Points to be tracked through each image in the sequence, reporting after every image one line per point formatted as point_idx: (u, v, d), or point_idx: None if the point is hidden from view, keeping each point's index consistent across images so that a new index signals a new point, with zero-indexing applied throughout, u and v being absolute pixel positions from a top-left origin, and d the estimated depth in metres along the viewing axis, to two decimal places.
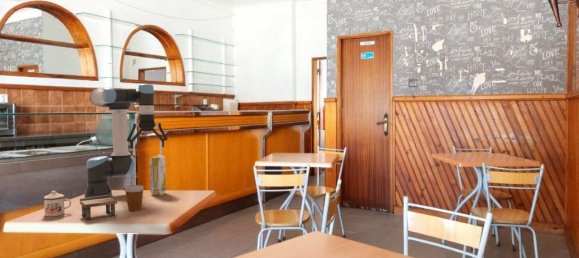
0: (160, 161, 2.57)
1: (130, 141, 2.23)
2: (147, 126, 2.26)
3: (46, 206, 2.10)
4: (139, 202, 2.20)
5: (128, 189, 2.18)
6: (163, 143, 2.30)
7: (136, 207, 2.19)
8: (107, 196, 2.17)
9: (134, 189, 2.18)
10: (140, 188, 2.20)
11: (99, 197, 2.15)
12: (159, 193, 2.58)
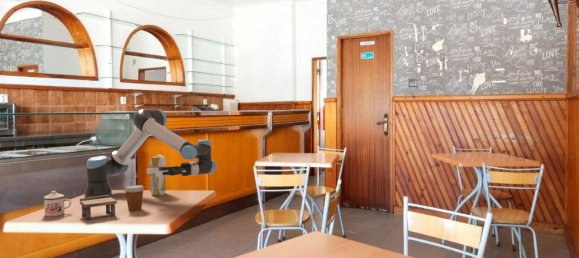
0: (160, 161, 2.57)
1: None
2: None
3: (46, 206, 2.10)
4: (139, 202, 2.20)
5: (128, 189, 2.18)
6: (166, 172, 2.26)
7: (136, 207, 2.19)
8: (107, 196, 2.17)
9: (134, 189, 2.18)
10: (140, 188, 2.20)
11: (99, 197, 2.15)
12: (159, 193, 2.58)
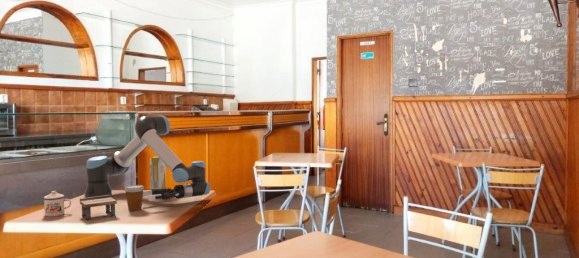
0: (160, 161, 2.57)
1: None
2: None
3: (46, 206, 2.10)
4: (139, 202, 2.20)
5: (128, 189, 2.18)
6: (159, 196, 2.22)
7: (136, 207, 2.19)
8: (107, 196, 2.17)
9: (134, 189, 2.18)
10: (140, 188, 2.20)
11: (99, 197, 2.15)
12: None
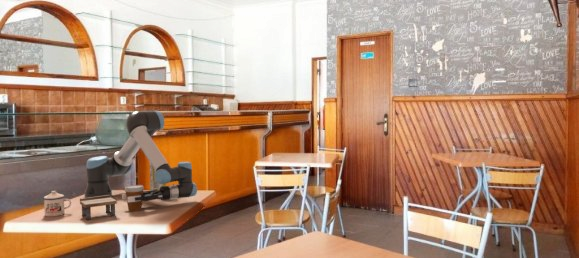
0: None
1: None
2: None
3: (46, 206, 2.10)
4: (139, 202, 2.20)
5: (128, 189, 2.18)
6: (139, 197, 2.18)
7: (136, 207, 2.19)
8: (107, 196, 2.17)
9: (134, 189, 2.18)
10: (140, 188, 2.20)
11: (99, 197, 2.15)
12: None
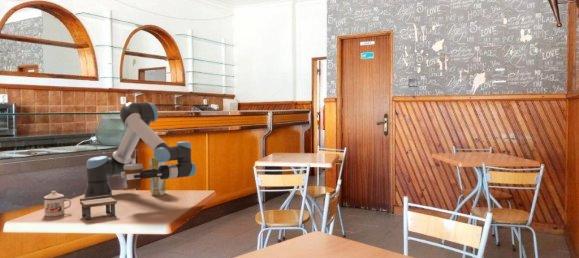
0: None
1: None
2: None
3: (46, 206, 2.10)
4: (138, 180, 2.20)
5: (127, 167, 2.17)
6: (138, 175, 2.17)
7: (135, 185, 2.19)
8: (107, 196, 2.17)
9: (133, 167, 2.17)
10: (139, 166, 2.19)
11: (99, 197, 2.15)
12: (159, 193, 2.58)
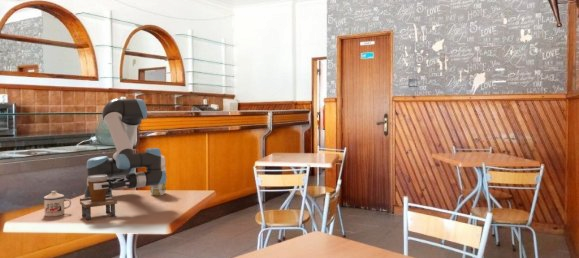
0: None
1: None
2: None
3: (46, 206, 2.10)
4: (102, 192, 2.08)
5: (90, 178, 2.05)
6: (106, 184, 2.04)
7: (99, 197, 2.07)
8: (107, 196, 2.17)
9: (97, 178, 2.05)
10: (103, 177, 2.07)
11: None
12: (159, 193, 2.58)
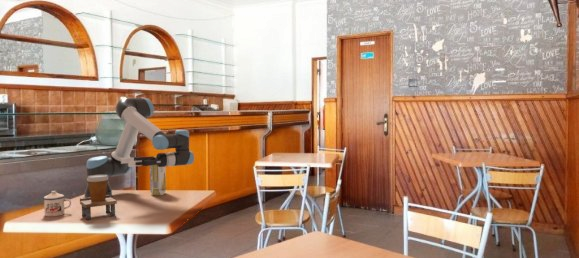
0: None
1: (134, 158, 2.32)
2: None
3: (46, 206, 2.10)
4: (102, 192, 2.08)
5: (90, 178, 2.05)
6: (140, 162, 2.18)
7: (99, 197, 2.07)
8: (107, 196, 2.17)
9: (97, 178, 2.05)
10: (103, 177, 2.07)
11: None
12: (159, 193, 2.58)
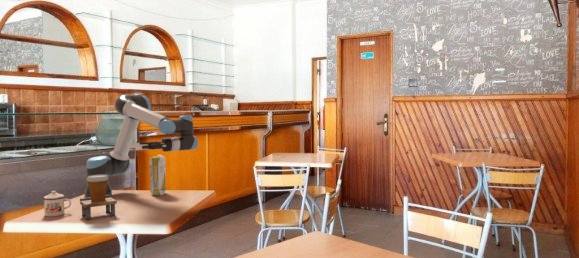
0: (160, 161, 2.57)
1: None
2: None
3: (46, 206, 2.10)
4: (102, 192, 2.08)
5: (90, 178, 2.05)
6: (146, 145, 2.23)
7: (99, 197, 2.07)
8: (107, 196, 2.17)
9: (97, 178, 2.05)
10: (103, 177, 2.07)
11: None
12: (159, 193, 2.58)
